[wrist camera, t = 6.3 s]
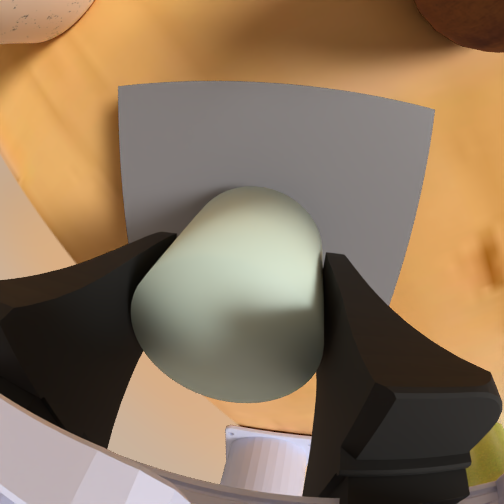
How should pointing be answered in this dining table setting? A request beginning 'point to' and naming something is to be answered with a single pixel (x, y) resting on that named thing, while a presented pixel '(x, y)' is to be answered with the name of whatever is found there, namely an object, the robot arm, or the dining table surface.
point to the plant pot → (487, 458)
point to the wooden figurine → (467, 22)
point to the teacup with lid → (38, 19)
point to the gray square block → (278, 161)
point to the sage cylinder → (237, 299)
